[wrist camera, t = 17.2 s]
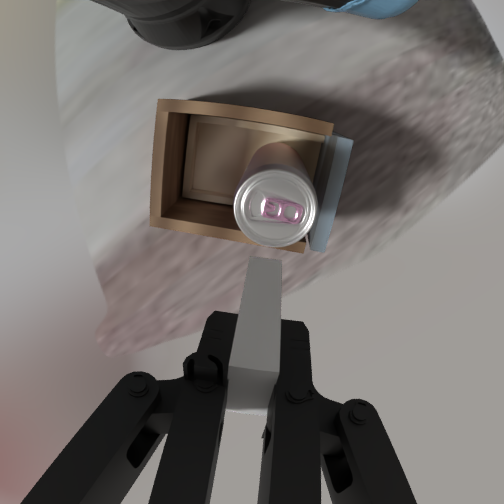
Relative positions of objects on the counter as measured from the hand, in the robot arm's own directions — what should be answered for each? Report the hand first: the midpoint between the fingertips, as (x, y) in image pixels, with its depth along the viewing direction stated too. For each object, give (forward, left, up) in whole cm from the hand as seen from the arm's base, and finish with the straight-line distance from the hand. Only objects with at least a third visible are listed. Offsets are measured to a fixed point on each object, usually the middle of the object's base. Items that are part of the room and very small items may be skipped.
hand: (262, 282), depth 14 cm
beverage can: (-1, 0, -22) cm, 22 cm away
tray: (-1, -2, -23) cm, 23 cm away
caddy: (-1, -4, -23) cm, 24 cm away
